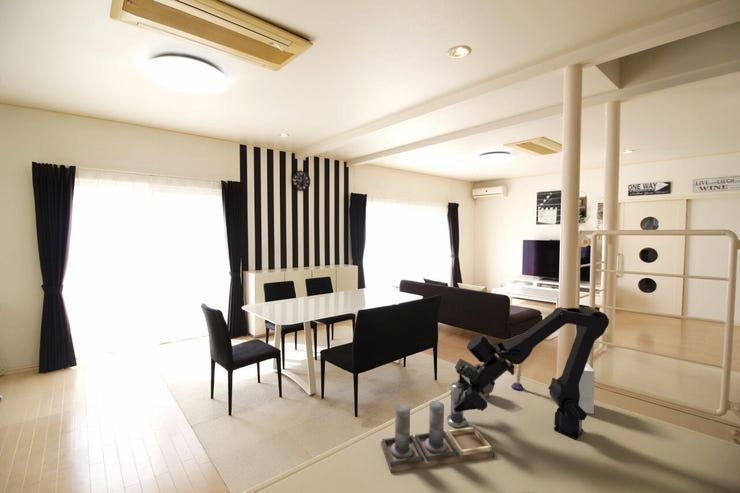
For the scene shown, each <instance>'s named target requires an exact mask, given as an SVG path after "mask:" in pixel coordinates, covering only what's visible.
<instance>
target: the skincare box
mask: <svg viewBox="0 0 740 493" xmlns="http://www.w3.org/2000/svg"><path fill="white" fill-rule="evenodd" d="M595 372H596V371H595V370H594V369H593V367H591V366H590V364H589V363H588V362H587V363H586V366H585V369H584V372H583V374H582V377H581V380H580V382H579V391H580V400H579V406H580V407H581V408H582V409H583V410H584V411H585V412H586V413H587V414H589V415H594V412H595V411H594V410H595V409H594V408H595Z"/></svg>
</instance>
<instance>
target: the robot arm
mask: <svg viewBox="0 0 740 493" xmlns="http://www.w3.org/2000/svg"><path fill="white" fill-rule="evenodd" d="M566 324H569V325H575V329H576V335H575V338H574V340H573V344H572V346H571V349H570V352H569V355H568V357H567V360H566V363H565V366H564V368H563V372H562V374H561V376H559V377H558V378H555V377H552V378H551V381H550V385H549V386H548V390H549V393H548V394H549V396H550V398H551V399H552V400H553V402H554V403H555V405H557V407H558V408H556V411H555V412H554V420H553V421H554V422H553V423H554V424H553V425H554V427H553V430H554V432H555V431H556V432H558V433H560V434H562V435H564V436H568V437H569V438H571V439H574V440H579V438H580V436H581V435H582V434H583V432H584V429H583V421H585V420H586V418H587V415H588V413H586V412H585V411H584V410H583V409H582V408H581V407H580V406H579V400H580V391H579V382H580V380H581V377H582V374H583V372H584V369H585V366H586V363H588V361H589V357H590V356H591V355H590V354H591V353H592V349H593V346H594V343H595V342H596V340H598V339H599V338H601V336H602V335H604V334H605V332H606V330H607V328H608V326H609V324H610V318H609V317H608V315H607V314H606V313H605V312H602V311H600V310H598V309H596V308H594V307H592V306H583V307H562V306H561V307H560V306H559V307H557V308H554V310H553V311H552V312H551V313H550V314H548V315H547V316H546V317H544V318H543V319H541V320H540V321H539V322H537V323H536V324H535V325H533V326H532V327H530V328H529V329H528V330H527V331H525V332H524V333H522V334H518V335H515V336H511V337H510V338H507V339H506V340H504V341H503V342H501V341H500V342H491V341H490V340H489V339H488V338H487V337H486V335H485V334H481V335H478V336H475V337H473V338H471V340H470V341H469V342H468V343H467V345H466V350H468V351H469V352H470V354H472V355H473V357H475V358H476V359H477V361H478V362H480V363H482V364H480V363H477V364H476V365H473V364H472V363H471V362H468V361H466V360H463V359H462V358H459V359H458V361H457V362H456V365H455V367H454V368H455V372H456V373H457V374H458V379H457V382H458V383H462V384H463V385H464V398H463V399H462V400H461V401H460V402H459V403H458V404H457V405H456V407H455V408H454V411H455V412H460V411H463V412H465V411H470V410H471V411H474V410H478V411H481V412H483V411H485V410H486V409H487V408H488V401H487V398H485V396H484V395H483V394H484V393H485V390H484V389H485V388H487V387H488V386H489V385H490V384H491V385H492V386H494V387H495V385H496V380H497V379H499V378H500V377H501V376H502V375H503V374H505V372H507V371H508V372H509V373H510V374H511V375H512V376H514V375H515V365H516V366H517V365H518V364H521V363H522V364H523V363H524V362H525V360H527V359H528V358H529V356H530V355H531V353H532V352H533V349H534V348H535V347H536V346H537V345H539V344H540V343H542V342H543V341H544V340H546V339H547V338H549V337H551V335H553V334H554V333H556V332H557V331H558V330H559V329H561V328H562V327H564V326H566ZM494 381H495V382H494ZM449 395H450V396H451V392H450V394H449Z"/></svg>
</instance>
